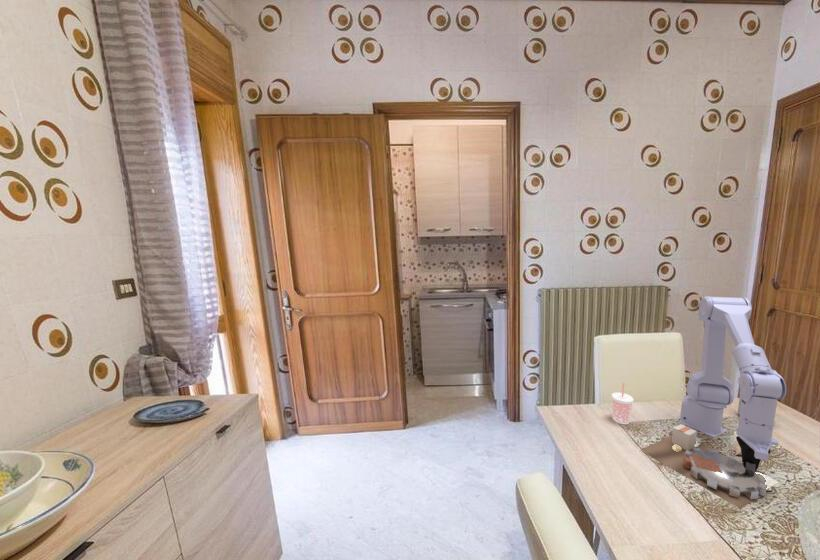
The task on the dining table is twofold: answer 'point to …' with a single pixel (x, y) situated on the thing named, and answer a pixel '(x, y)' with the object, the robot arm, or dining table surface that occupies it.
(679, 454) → the board
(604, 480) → the dining table surface
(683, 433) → the link block
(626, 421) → the beverage cup
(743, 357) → the robot arm
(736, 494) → the sprocket
